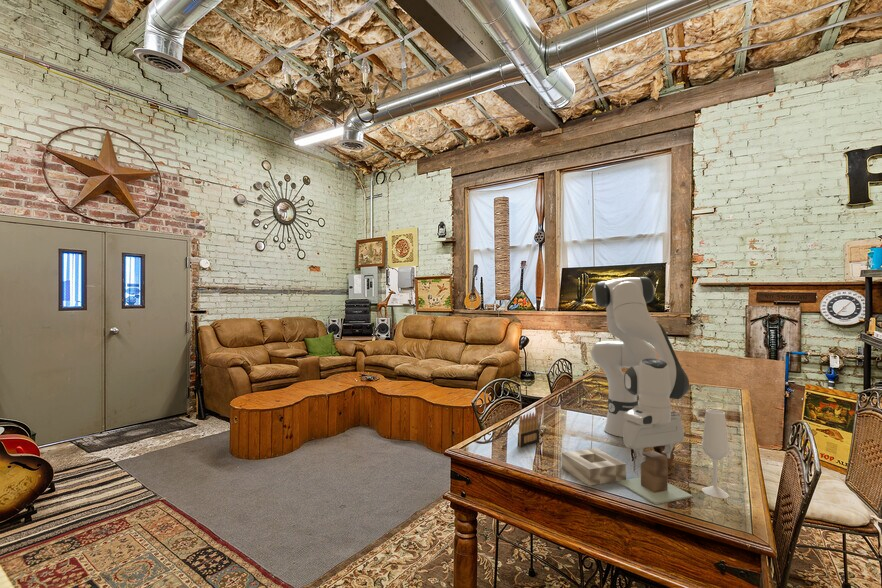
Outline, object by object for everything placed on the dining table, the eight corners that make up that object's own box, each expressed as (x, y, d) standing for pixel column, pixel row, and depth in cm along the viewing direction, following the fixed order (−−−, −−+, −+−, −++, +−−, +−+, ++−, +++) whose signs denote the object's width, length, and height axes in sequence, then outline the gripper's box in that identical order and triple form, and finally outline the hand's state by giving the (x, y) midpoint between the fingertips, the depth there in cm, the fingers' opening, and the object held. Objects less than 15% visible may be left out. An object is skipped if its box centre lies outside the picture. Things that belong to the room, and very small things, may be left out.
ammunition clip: (521, 447, 155) (521, 416, 155) (517, 446, 157) (517, 415, 157) (539, 441, 161) (539, 411, 162) (535, 440, 163) (536, 410, 163)
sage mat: (653, 476, 130) (653, 475, 130) (692, 497, 117) (692, 495, 117) (618, 482, 126) (618, 481, 126) (654, 504, 113) (655, 502, 113)
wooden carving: (664, 476, 131) (664, 445, 131) (649, 472, 134) (649, 442, 134) (677, 461, 143) (677, 433, 143) (662, 458, 146) (663, 430, 146)
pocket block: (595, 462, 141) (595, 448, 141) (625, 479, 128) (626, 463, 128) (561, 467, 137) (561, 452, 137) (589, 485, 124) (589, 469, 124)
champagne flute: (698, 486, 124) (698, 407, 124) (723, 489, 122) (724, 409, 122) (706, 496, 118) (706, 413, 118) (732, 499, 116) (733, 415, 116)
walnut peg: (653, 483, 125) (653, 450, 125) (667, 490, 120) (667, 456, 120) (640, 485, 123) (641, 452, 123) (654, 492, 118) (654, 458, 118)
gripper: (671, 408, 128) (671, 452, 128) (619, 413, 121) (619, 459, 121) (689, 413, 122) (689, 459, 122) (635, 419, 115) (635, 468, 115)
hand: (654, 459), depth 122 cm, fingers open, 8 cm apart
